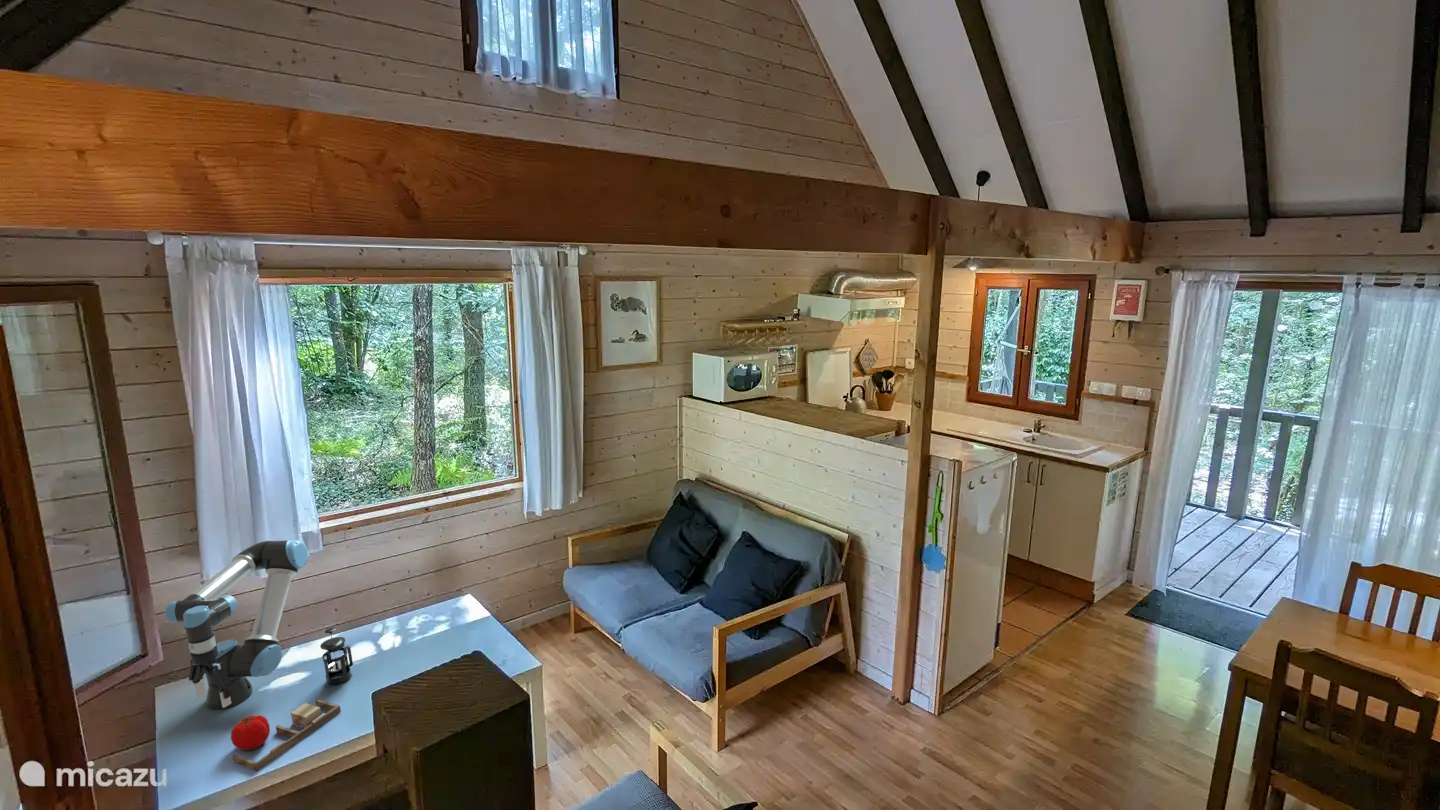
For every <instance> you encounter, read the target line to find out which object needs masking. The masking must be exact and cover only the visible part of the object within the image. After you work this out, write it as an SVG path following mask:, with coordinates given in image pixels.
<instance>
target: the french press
mask: <svg viewBox="0 0 1440 810" xmlns="http://www.w3.org/2000/svg"><path fill="white" fill-rule="evenodd" d="M336 630H337V627H335V626H334V627H329V628H327V629H325V631H324V633H325V634H329V635H330V637H331V638H329V639H326V640H324V641H323V642H321V644H320V646H319V647H320V649H322V650H325V652H324V653H323V654H322V657H321V658H322V661H323V664H324V665H323V666H324V669H325V670H324V671H325V680H326V681H325V684H326V685H327V686H328V687H337V686H341V685H344V684H345V683H348V682H349V681H350V680H351V679H352V676H353V674H352V673H351V667H353V665H354V662H353V661H354V660H353V656H352V650H351V646H348V645H346V643H345V642H346V639H345V637H343V636H335V637H333V633H334V632H336ZM345 645H346V646H345ZM339 651H340V652H342V651H343V654H342V655H341V656H339V657H336V653H337V652H339ZM331 653H333V655H334V658H332V654H331ZM325 657H326V659H325ZM339 675H341V676H339ZM336 676H339V677H336ZM334 677H335V678H334Z"/></svg>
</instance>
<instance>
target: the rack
mask: <svg viewBox="0 0 1440 810" xmlns="http://www.w3.org/2000/svg"><path fill="white" fill-rule="evenodd" d="M314 704H315V705H314V706H317V707H320V708H321V709H324V710H327V712H326V713H324V712H323V713H321V714H322V715H321V716H319V717H318V718H316V719H315V720H313V721H312V723H311V724H310V725H309V726H307V727H306V728H304V727H303V729H301V730H299V731H298V730H296V729H291V728H289V727H285V726H282V725H279V724H278V725H277V726H275V731H276V733H277V734H279V735H282V736H286V737H289V738H288V740H286V741H281V742H280V743H279V744H278V745H276V746H275V747H273V748H272V749H271V750H270V751H269V753H267V754H265V756H263V757H262V758H260V759H259V760H258V761H254V760H251V759H248V758H247V757H243V756H240V755H237V754H233V755H231V760H232V763H233V764H237V765H239V766H242V767H244V768H248V769H250V770H252V771H256V772H258V771H259V770H261V769H262V768H264V767H265V766H266V765H268V764H269V763H270V762H272V761H273V760H275V759H276V758H277V757H279V756H281V755H282V754H284V752H286V751H287V750H289V749H291V748H292V746H294V745H295V744H297V743H299V742H300V741H301V740H303V739H304V738H306V737H307V736H308V735H310V734H311V733H313V731H315V730H317V729H318V728H319V727H321V726H323V724H325V723H327V722H328V721H329V720H330V718H331V719H332V718H333V717H335V716H336V715H338V714H339V713H340V712H341V710H342V709H341V706H340V705H338V704H336V703H332V702H330V701H329V702H328V701H325V700H321V699H319V698H317V699H314ZM337 713H338V714H337ZM334 715H335V716H334ZM327 720H328V721H327Z"/></svg>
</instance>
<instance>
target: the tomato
mask: <svg viewBox="0 0 1440 810" xmlns="http://www.w3.org/2000/svg"><path fill="white" fill-rule="evenodd" d="M270 732H271V729H270V724H269V721H268V719H267V718H266V717H265V716H264V715H261V714H256V715H253V714H250V715H248V716H245V717H244V718H242V719H241V720H240V721H239V722H237V723H236V724H235V725H233V728H232V730H231V733H230V739H231V742H232V745H233V746H235V747H236V748H237V749H240V750H245V751H247V750H249V751H250V750H253V749H256V748H258V747H259V746H261V745H263V744H264V743H265V742H266V741H267V740H268V738H269V735H270Z"/></svg>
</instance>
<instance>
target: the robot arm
mask: <svg viewBox="0 0 1440 810" xmlns="http://www.w3.org/2000/svg"><path fill="white" fill-rule="evenodd" d="M308 560H309V553H308V549H307V545H306V544H305V543H304V542H303V541H301V540H294V539H293V540H292V539H288V540H264V541H260V542H258V543H255V544H253V545H251V546H249V547H247V548H245V549H244V550H242V551H241V552H239V553H238V554H236V555H235V556H234V557H233V558H232V559H231V562H230V563H229V564H228V565H226V566H225V567H223V569H221V570H219V571H218V572H217V573H216V574H215V575H213V576H212V577H211V578H210V579H208V580H207V581H206V582H204V583H203V584H202V585H201V586H199V587H198V588H197V589H195V590H194V591H193V592H192V593H190V594H189V595H188V596H186V597H185V598H184V599H178V600H174V601H173V600H172V601H171V602H170V603H168V604H167V606H166V608H165V610H164V616H165V618H166V620H167V621H169V622H171V623H172V622H174V623H177V622H178V623H183V625H184V629H185V630H184V631H185V633H186V638H187V643H188V650H189V652H190V657H191V659H190V669H189V674H188V681H190V682H191V681H192V683H193V684H194V688H195V693H196V697H197V701H201V700H202V699H204V698H205V703H206V707H207V708H208V709H209V710H213V711H214V710H215V711H218V710H224V709H228V708H231V707H234V706H237V705H238V704H241V703H243V702H244V701H245V700H247V699H249V697H251V696H252V694H253V692H254V691H253V684H252V683H251V682H250V681H249V679H248V677H250V678H251V677H255V678H257V677H258V678H260V677H265V676H266V677H267V676H269V675H271V674H272V673H273V672H274V671H275V670H276V669H277V668H278V667H279V665H280V663H281V661H282V657H283V652H282V651H283V650H282V647H281V646H280V645H279V643H280V641H279V640H278V638H277V633H278V629H279V627H280V626H279V625H280V622H281V619H282V614H283V611H284V607H285V604H286V600H287V596H288V594H289V589H290V585H291V582H292V579H293V578H294V577H295V576H297V575H298V573H299V570H301V569H302V568H304V567H305V566H306V565H307V563H308ZM259 570H264V571H265V573H266V574H267V578H266V582H265V585H264V589H263V593H262V595H261V600H260V603H259V606H258V609H257V612H256V613H257V614H256V617H255V621H254V624H253V627H252V630H251V634H250V635H249V636H248V637H246V638H245V639H244V643H243V645H239V642H238V641H237V639H227V640H223V641H220V642H217V641H216V636H215V631H214V627H215V626H217V625H218V624H219V623H221V622H223V621H224V620H225V619H226V620H227V618H228V617H230V616H232V614H233V613H235V612H236V611H237V609H238V607H239V604H238V600H237V599H236V598H235V597H234V596H233V595H229V594H225V593H226V592H227V591H229V590H230V589H231V588H232V587H234V586H235V585H236V584H237V583H238V582H240V581H241V580H242V579H243V578H245V577H246V576H249V575H252V574H254V573H255V572H257V571H259ZM224 594H225V595H224ZM204 675H205V677H206V680H207V681H206V682H207V685H208V688H207V691H206V686H205V685H206V684H205V681H204Z"/></svg>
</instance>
